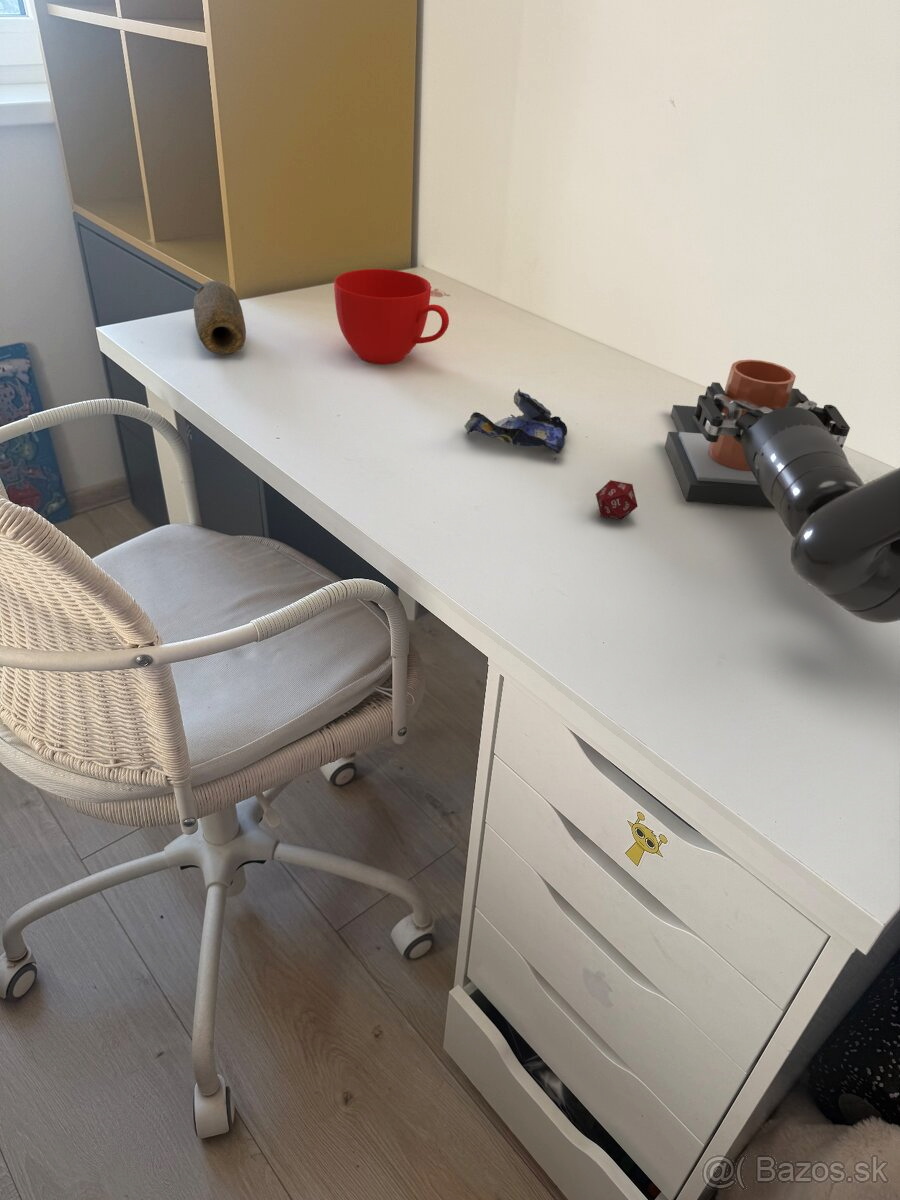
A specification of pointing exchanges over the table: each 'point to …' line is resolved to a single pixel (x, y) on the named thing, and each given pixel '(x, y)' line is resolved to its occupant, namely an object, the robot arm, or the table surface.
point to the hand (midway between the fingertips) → (751, 393)
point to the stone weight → (219, 318)
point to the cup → (758, 387)
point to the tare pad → (684, 419)
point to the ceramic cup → (384, 313)
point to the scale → (710, 474)
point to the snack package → (523, 425)
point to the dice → (616, 500)
